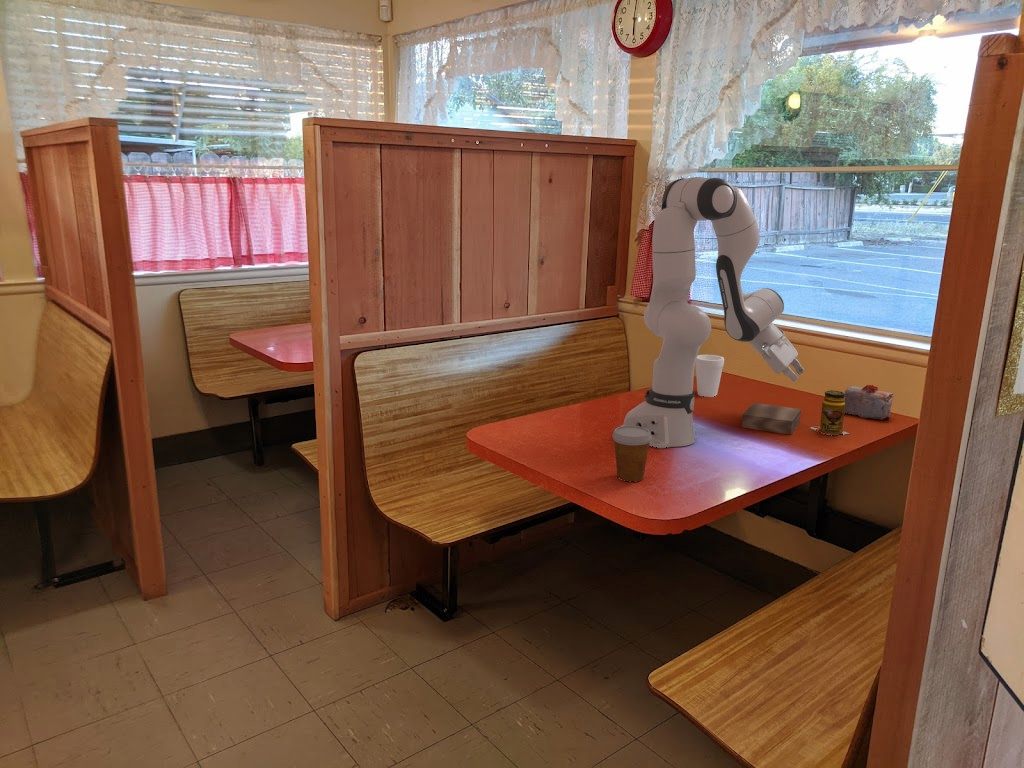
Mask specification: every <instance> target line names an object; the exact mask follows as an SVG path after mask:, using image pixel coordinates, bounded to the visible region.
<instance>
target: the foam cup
mask: <svg viewBox="0 0 1024 768" xmlns="http://www.w3.org/2000/svg"><path fill="white" fill-rule="evenodd" d="M724 366H725V358H724V357H723V356H721V355H716V354H698V355H697V358H696V362H695V374H696V375H695V376H696V389H697V395H698V396H699V397H703V396H704V397H703V398H714V396H715V397H717V396H716V395H718V392H719V387H720V382H721V377H722V372H723V367H724Z"/></svg>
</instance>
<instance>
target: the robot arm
mask: <svg viewBox="0 0 1024 768" xmlns="http://www.w3.org/2000/svg"><path fill="white" fill-rule="evenodd" d="M660 209H661V210H660V211H658V212H657V213H656V215H655V216H654V221H653V229H652V239H651V240H652V243H651V244H652V245H651V246H652V247H651V248H652V270H653V271H652V275H653V278H652V288H651V294H650V299H649V303H648V304H647V305H646V307H645V309H644V311H643V312H644V313H643V321H644V325H645V326H646V327H647V328H648V330H649V331H651V333H652V334H654V335H655V336H657V337H660V338H661V339H662V344H661V345H662V346H661V349H660V352H659V355H658V357H657V358H655V359H654V362H653V365H652V367H653V368H652V369H653V370H652V384H651V386H649V387H648V388H647V390H646V391H645V392H643V398H644V399H645V401H643V402H641V403H639V404H637V405H636V406H635V407H634V408H632V409H631V410H629V411H628V412H627V414H626V415H625V417H624V420H623V424H622V425H620V426H619V427H621V426H639V427H643V428H646V429H648V430H649V431H650V434H651V436H652V439H651V441H650V443H649V447H652V446H653V447H652V448H656V447H657V449H666V447H667V448H673V447H674V448H675V447H676V448H678V447H685V446H689V445H693V444H694V443H696V442H697V441H696V440H697V439H696V435H695V430H694V422H693V412H694V408H695V391H694V378H695V377H694V376H695V369H696V364H695V362H696V358H697V356H698V355H699V352H700V349H701V347H702V345H703V344H704V343H705V342H706V341H707V340H708V339H709V338H710V335H711V332H712V321H711V319H710V317H709V316H708V315H707V313H705V311H703V310H702V309H701V308H699V307H698V306H696V305H693V304H689V303H688V298H689V292H690V288H691V286H692V284H693V283H694V281H695V280H696V277H697V276H696V275H697V274H696V273H697V271H696V244H695V228H696V225H697V223H698V222H699V221H701V222H702V221H710V222H711V223H712V228H713V230H714V233H715V237H716V241H717V242H716V243H717V259H716V262H715V271H716V277H717V282H718V288H719V293H720V297H721V302H722V306H723V307H722V308H723V318H724V321H723V322H724V324H723V325H724V329H725V331H726V333H727V335H728V336H729V337H730V338H731V339H733V340H735V341H738V342H742V343H744V342H745V343H747V342H748V343H749V345H750V346H751V347H752V348H753V349H754V350H755V351H756V353H757V354H758V355H761V356H762V358H763V360H764V361H765V362H766V364H767V365H768V366H769V367H770V369H772V371H773V372H774V373H775V374H777V375H779V374H781V373H783V375H785V376H786V377H788V378H789V379H790V380H791V381H792V382H796V381H797V380H799V378H800V377H799V376H801V375H802V374H803V373H804V372H805V369H804V367H802V364H801V363H800V361H799V360H798V359H797V357H798V356H799V353H798V351H797V349H796V348H795V347H794V345H793V344H792V342H791V341H790V340H789V338H787V336H785V334H786V333H785V332H784V330H783V329H781V328H780V327H779V328H778V327H777V326H776V324H774V323H773V322H774V321H775V320H777V319H778V318H779V317H780V316H781V314H782V313H784V310H785V303H784V300H783V298H782V296H781V295H780V294H779V293H778V292H777V291H776V290H774V289H772V288H770V287H769V288H768V287H762V288H761V289H758V290H755V291H753V292H748V293H745V292H743V289H742V285H741V284H742V283H741V278H742V274H743V271H744V269H745V268H746V265H747V263H748V262H749V261H750V259H751V257H752V256H754V254H755V252H756V251H757V248H758V246H759V244H760V239H761V238H760V235H761V234H760V229H759V226H758V223H757V219H756V216H755V214H754V211H753V209H752V207H751V204H750V203H749V201H748V199H747V196H746V195H745V194H744V191H743V190H742V189H741V188H739V187H737V186H733V185H732V183H730V182H728V180H725V179H723V178H720V177H711V178H710V177H703V176H693V177H689V178H688V177H687V178H678V179H675V180H673V181H671V182H670V183H669V184H668V185H667V186H666V187H665V188H664V191H663V195H662V200H661V206H660ZM790 365H791V367H793V368H794V370H795V372H794V371H793V370H792V369H791V367H790Z"/></svg>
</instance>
